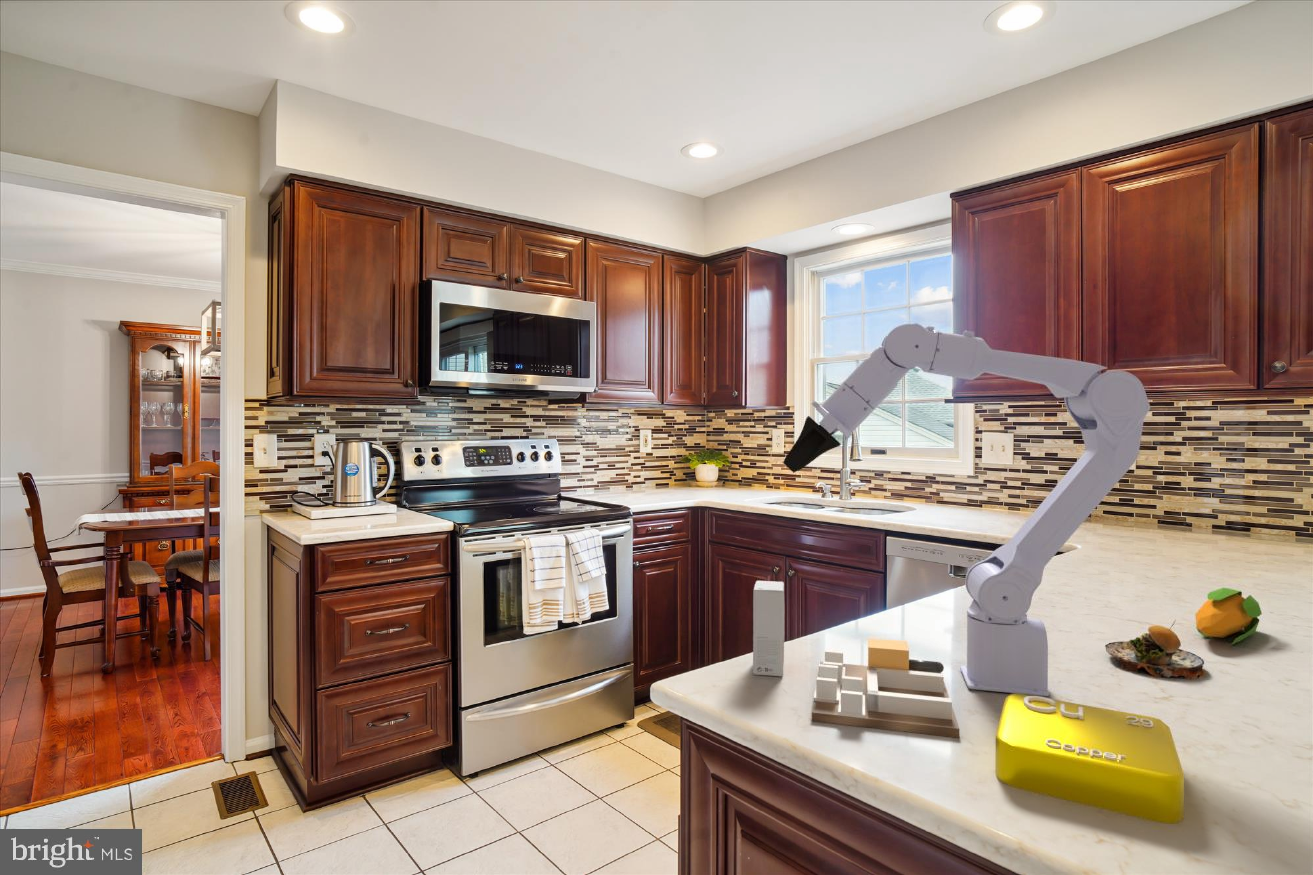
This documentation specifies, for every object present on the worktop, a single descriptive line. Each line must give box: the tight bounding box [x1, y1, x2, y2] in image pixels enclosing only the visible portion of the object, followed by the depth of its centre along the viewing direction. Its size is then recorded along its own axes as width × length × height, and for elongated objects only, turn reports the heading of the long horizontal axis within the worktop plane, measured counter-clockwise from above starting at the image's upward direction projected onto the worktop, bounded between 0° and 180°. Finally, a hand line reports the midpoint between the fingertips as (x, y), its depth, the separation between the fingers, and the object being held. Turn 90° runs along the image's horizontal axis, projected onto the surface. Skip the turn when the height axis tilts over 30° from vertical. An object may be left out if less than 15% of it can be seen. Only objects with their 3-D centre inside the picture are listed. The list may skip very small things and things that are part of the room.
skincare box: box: [752, 580, 785, 677], centre depth 98 cm, size 6×4×12 cm
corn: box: [1195, 587, 1262, 645], centre depth 111 cm, size 7×8×20 cm
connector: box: [867, 637, 945, 674], centre depth 91 cm, size 9×4×4 cm, turn 73°
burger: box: [1104, 619, 1206, 680], centre depth 99 cm, size 12×12×8 cm
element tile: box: [994, 693, 1185, 824], centre depth 69 cm, size 15×15×5 cm
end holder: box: [867, 667, 953, 720], centre depth 84 cm, size 9×9×2 cm
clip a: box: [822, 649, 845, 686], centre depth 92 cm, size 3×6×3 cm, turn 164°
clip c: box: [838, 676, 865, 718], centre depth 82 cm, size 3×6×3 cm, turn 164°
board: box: [811, 661, 960, 739], centre depth 87 cm, size 16×18×1 cm
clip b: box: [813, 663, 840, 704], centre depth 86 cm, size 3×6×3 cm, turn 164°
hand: (790, 467), depth 98 cm, fingers open, 7 cm apart
